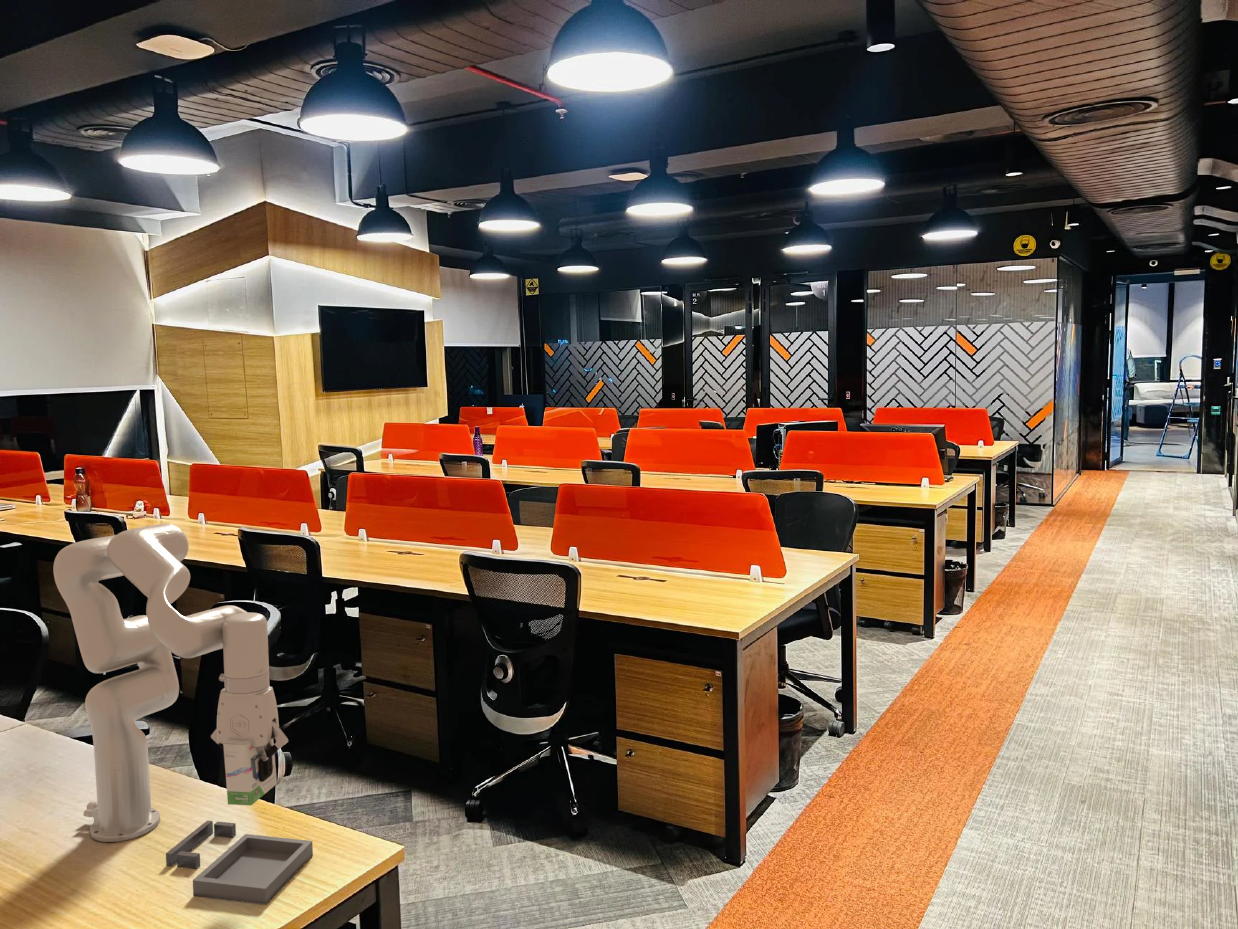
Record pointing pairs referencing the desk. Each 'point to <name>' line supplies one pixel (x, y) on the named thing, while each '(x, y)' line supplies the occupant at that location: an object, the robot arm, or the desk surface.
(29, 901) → the desk surface
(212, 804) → the desk surface
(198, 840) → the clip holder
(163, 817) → the desk surface
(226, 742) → the ink box
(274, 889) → the tray
